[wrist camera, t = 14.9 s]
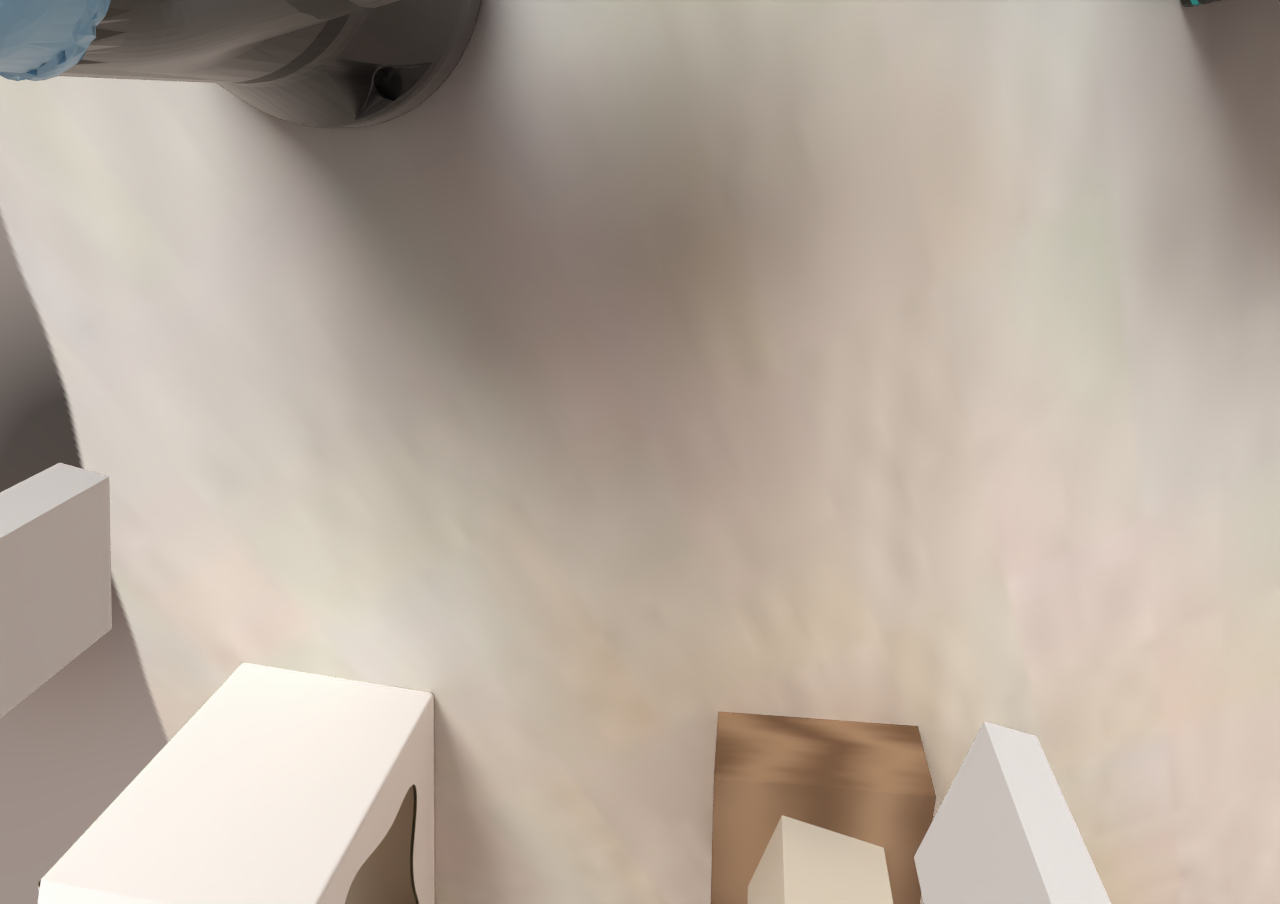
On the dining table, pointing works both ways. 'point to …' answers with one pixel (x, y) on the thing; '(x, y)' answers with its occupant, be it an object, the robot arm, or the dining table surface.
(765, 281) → the dining table surface
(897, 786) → the walnut block
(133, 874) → the gable box
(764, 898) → the cream block
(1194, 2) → the tampon box
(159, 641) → the dining table surface
